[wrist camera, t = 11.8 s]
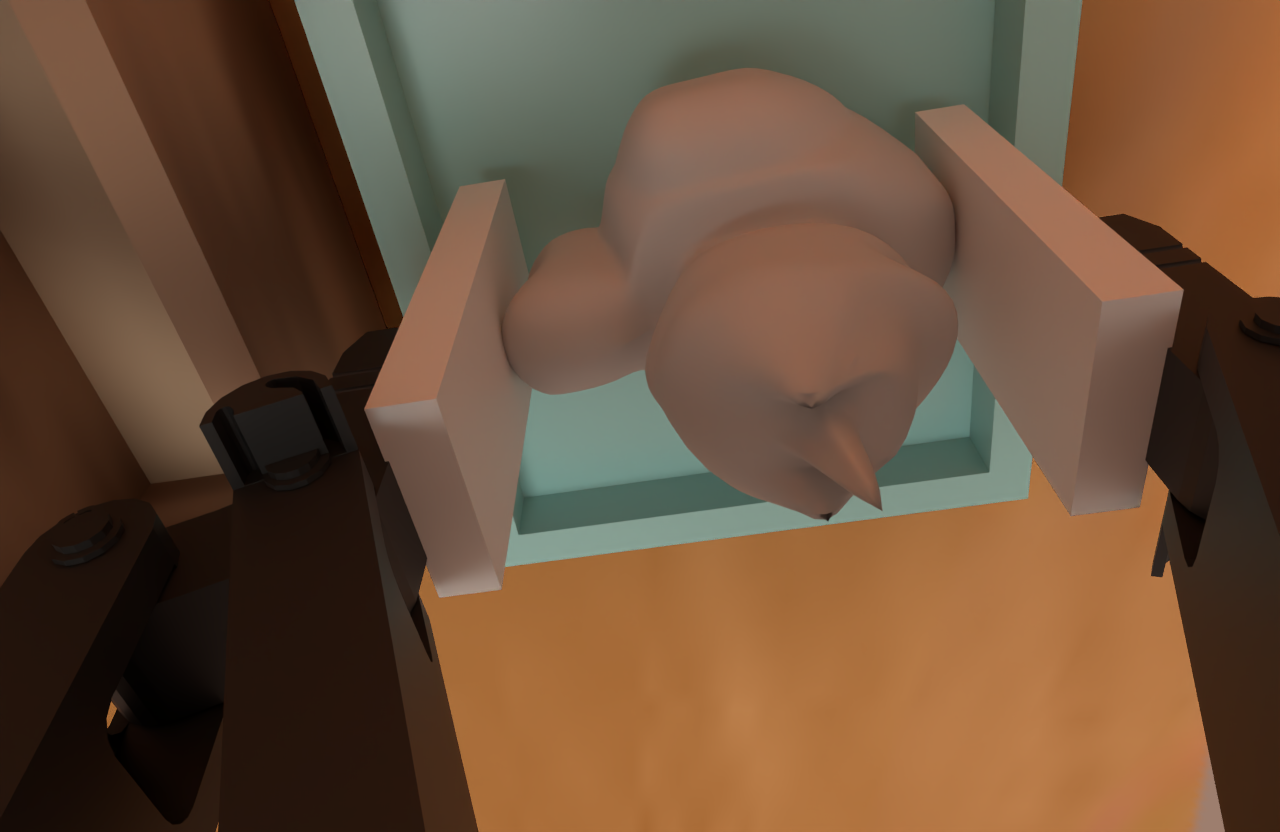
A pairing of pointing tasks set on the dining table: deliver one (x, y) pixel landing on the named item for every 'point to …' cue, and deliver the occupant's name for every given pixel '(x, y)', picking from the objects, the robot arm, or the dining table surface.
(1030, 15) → the tray
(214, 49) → the organizer
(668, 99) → the rubber duck
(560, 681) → the dining table surface
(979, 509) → the dining table surface
